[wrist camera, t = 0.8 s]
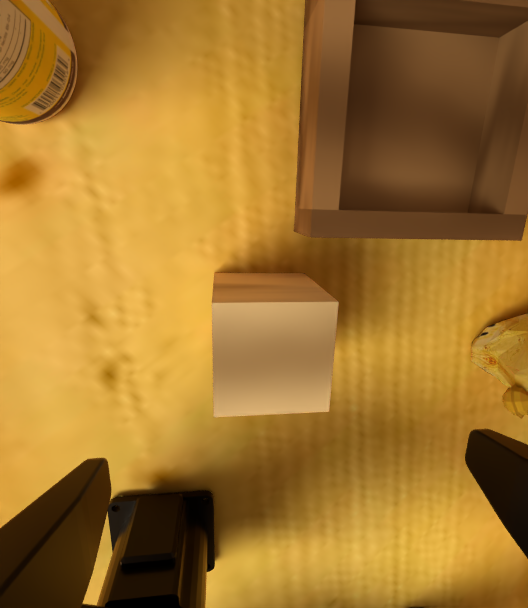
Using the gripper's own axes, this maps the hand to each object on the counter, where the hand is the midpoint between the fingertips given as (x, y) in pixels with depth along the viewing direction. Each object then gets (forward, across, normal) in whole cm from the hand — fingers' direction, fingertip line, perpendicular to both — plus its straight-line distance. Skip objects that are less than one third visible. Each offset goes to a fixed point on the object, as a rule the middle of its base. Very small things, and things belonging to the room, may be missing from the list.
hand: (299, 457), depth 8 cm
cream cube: (+12, 0, 0) cm, 12 cm away
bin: (+12, -8, -10) cm, 17 cm away
